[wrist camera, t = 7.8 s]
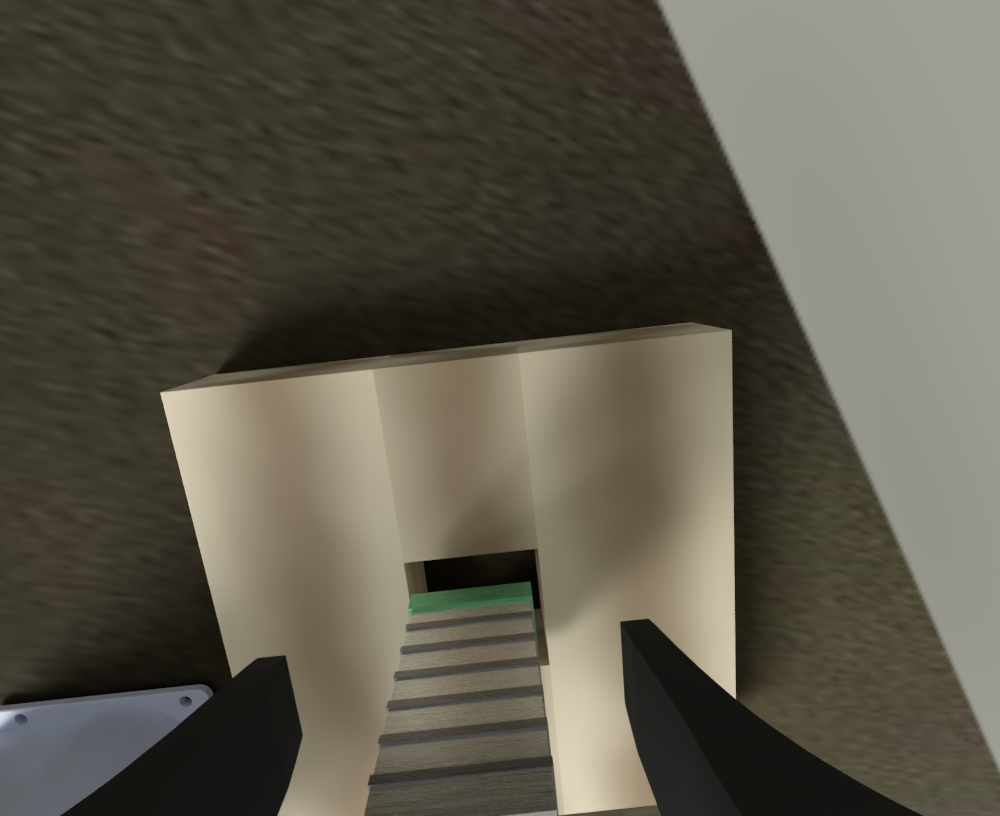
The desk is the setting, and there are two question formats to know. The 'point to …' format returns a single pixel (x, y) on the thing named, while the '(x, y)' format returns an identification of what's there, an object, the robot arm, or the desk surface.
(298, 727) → the robot arm
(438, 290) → the desk surface
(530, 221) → the desk surface
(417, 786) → the grey striped block
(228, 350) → the desk surface
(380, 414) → the stand block
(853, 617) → the desk surface
